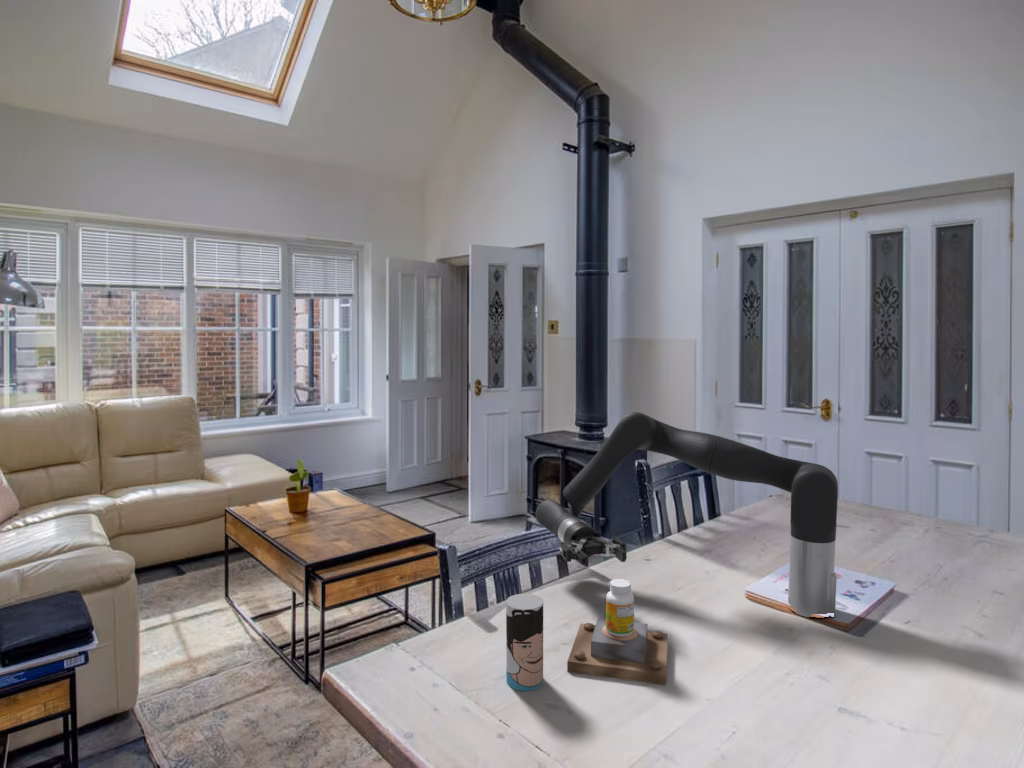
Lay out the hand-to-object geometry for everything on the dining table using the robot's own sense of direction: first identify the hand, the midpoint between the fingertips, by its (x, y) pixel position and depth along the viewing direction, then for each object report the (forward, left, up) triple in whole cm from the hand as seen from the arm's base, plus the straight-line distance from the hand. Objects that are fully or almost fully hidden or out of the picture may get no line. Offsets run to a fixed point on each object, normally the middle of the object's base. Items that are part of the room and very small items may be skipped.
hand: (605, 559), depth 135 cm
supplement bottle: (-4, +11, -10) cm, 15 cm away
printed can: (+12, +24, -16) cm, 31 cm away
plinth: (-4, +11, -15) cm, 19 cm away
